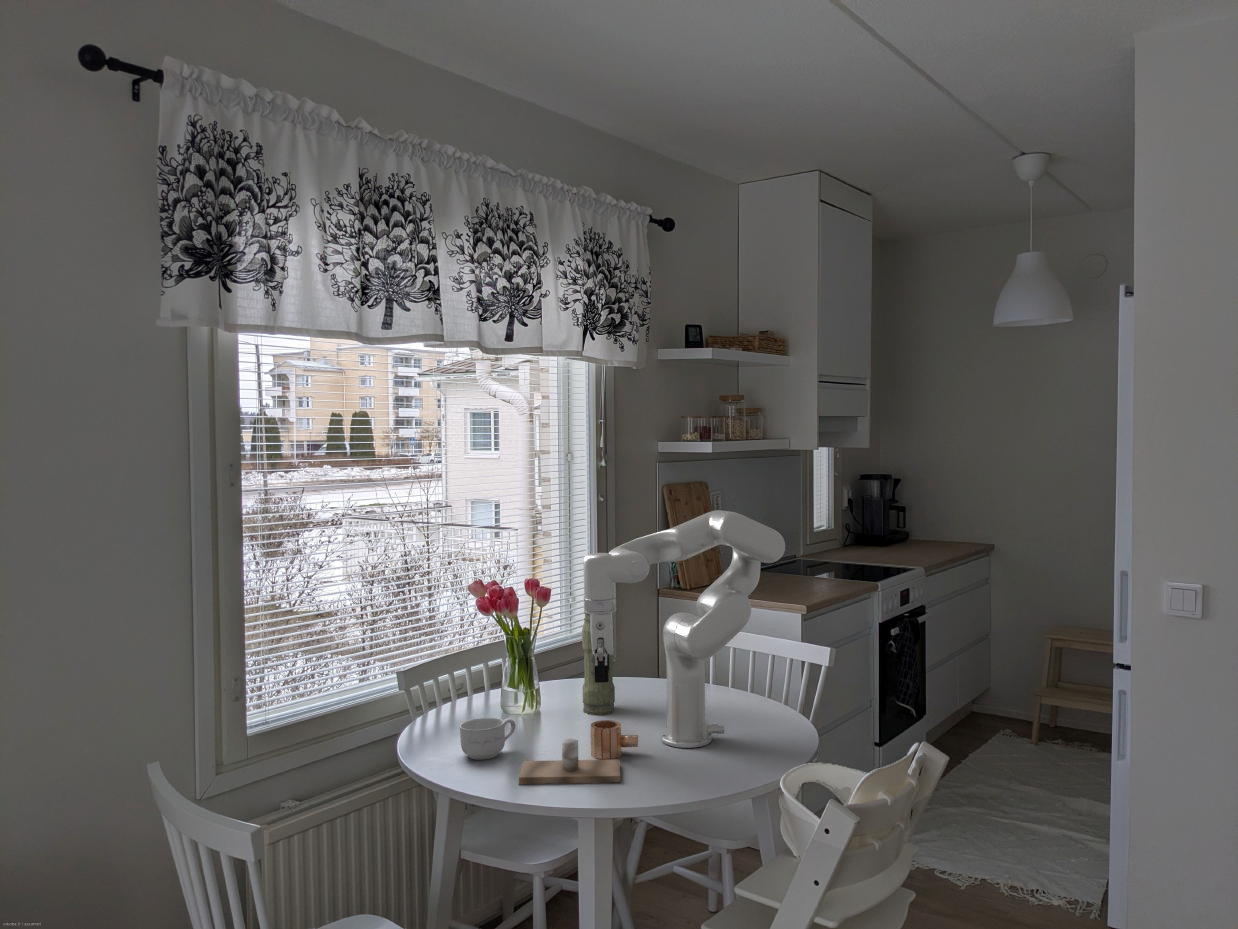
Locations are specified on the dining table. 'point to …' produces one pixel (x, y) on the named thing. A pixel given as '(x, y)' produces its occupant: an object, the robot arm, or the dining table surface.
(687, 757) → the dining table surface
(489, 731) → the teacup
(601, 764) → the duct board
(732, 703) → the dining table surface
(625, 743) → the wooden stave mug
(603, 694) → the olive green tall cylinder
